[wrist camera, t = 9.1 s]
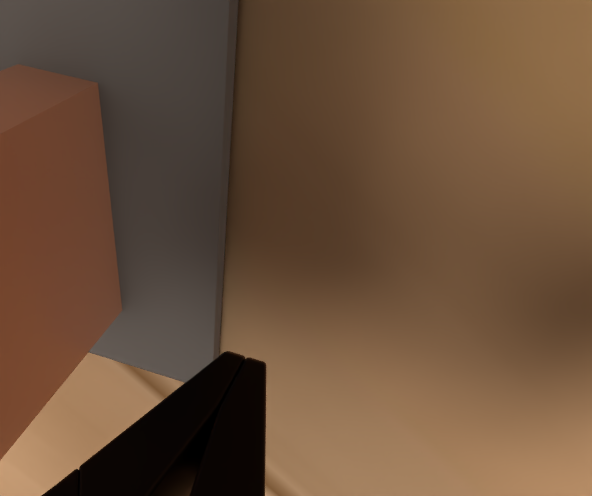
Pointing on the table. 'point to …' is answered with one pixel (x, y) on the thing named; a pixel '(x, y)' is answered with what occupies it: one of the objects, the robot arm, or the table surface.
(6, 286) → the block
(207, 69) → the mat
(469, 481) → the table surface
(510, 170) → the table surface
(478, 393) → the table surface
